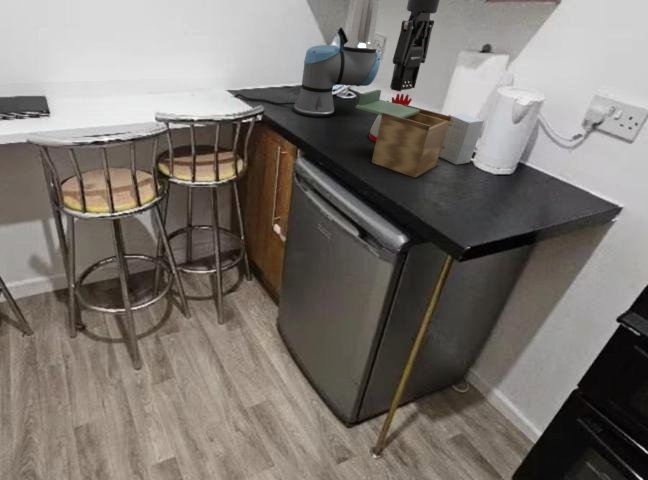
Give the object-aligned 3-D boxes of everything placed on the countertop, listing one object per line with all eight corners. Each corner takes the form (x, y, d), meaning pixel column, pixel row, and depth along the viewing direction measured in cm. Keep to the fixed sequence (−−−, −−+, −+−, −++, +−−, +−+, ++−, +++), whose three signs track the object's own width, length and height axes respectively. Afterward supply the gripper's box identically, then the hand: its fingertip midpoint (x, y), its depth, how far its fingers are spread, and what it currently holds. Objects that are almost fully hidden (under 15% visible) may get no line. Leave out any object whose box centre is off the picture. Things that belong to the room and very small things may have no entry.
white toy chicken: (418, 146, 150) (431, 100, 142) (380, 146, 147) (391, 99, 139) (398, 132, 161) (409, 88, 153) (362, 132, 158) (371, 87, 150)
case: (370, 162, 135) (382, 112, 127) (394, 151, 144) (406, 104, 136) (414, 178, 127) (429, 126, 119) (436, 165, 136) (451, 116, 128)
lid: (355, 107, 133) (358, 94, 131) (377, 101, 141) (380, 88, 139) (399, 120, 125) (402, 106, 123) (419, 112, 133) (423, 99, 131)
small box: (470, 162, 140) (484, 120, 133) (455, 165, 138) (469, 122, 131) (450, 153, 146) (463, 112, 139) (435, 155, 144) (448, 114, 137)
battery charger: (399, 91, 124) (409, 46, 118) (388, 88, 127) (398, 43, 121) (415, 90, 128) (427, 45, 122) (405, 86, 130) (415, 43, 124)
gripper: (420, -5, 106) (397, 96, 119) (455, -4, 119) (431, 87, 131) (392, -8, 111) (372, 90, 123) (429, -7, 123) (407, 81, 136)
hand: (402, 88), depth 127 cm, fingers closed on battery charger, 7 cm apart
